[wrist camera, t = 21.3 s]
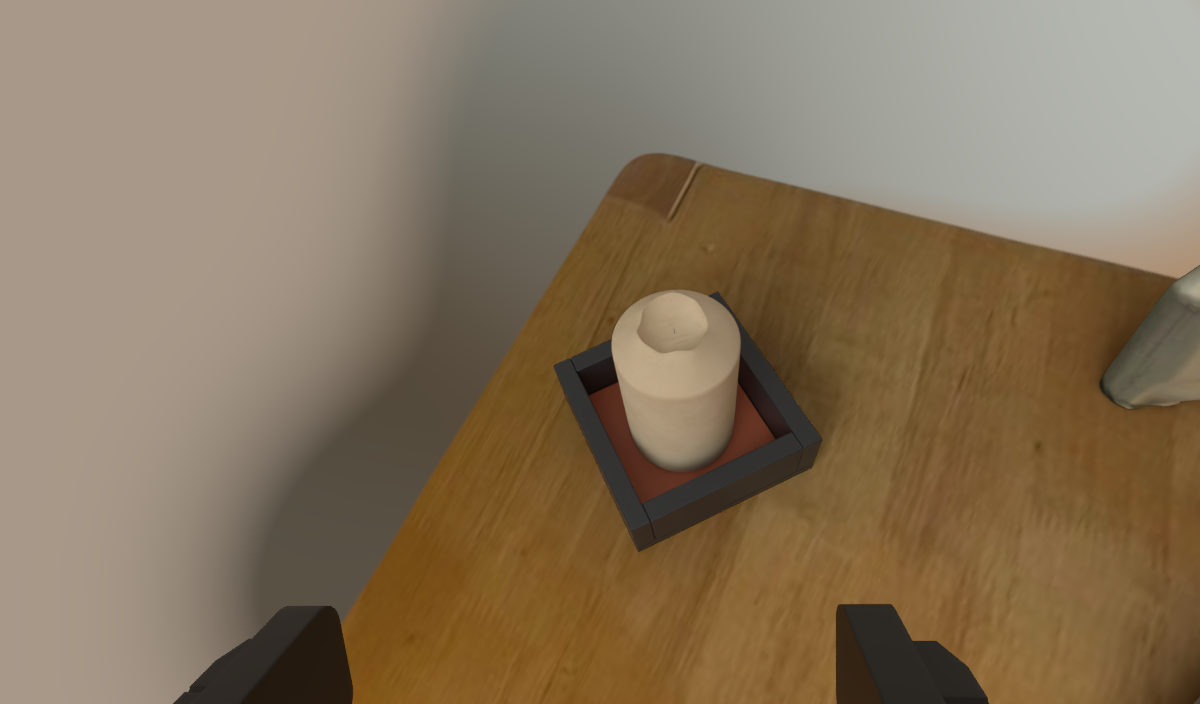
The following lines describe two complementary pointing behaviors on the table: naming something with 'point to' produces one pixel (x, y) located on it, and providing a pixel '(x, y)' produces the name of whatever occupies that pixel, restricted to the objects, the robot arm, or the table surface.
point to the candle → (678, 377)
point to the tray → (680, 500)
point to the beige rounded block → (1161, 352)
